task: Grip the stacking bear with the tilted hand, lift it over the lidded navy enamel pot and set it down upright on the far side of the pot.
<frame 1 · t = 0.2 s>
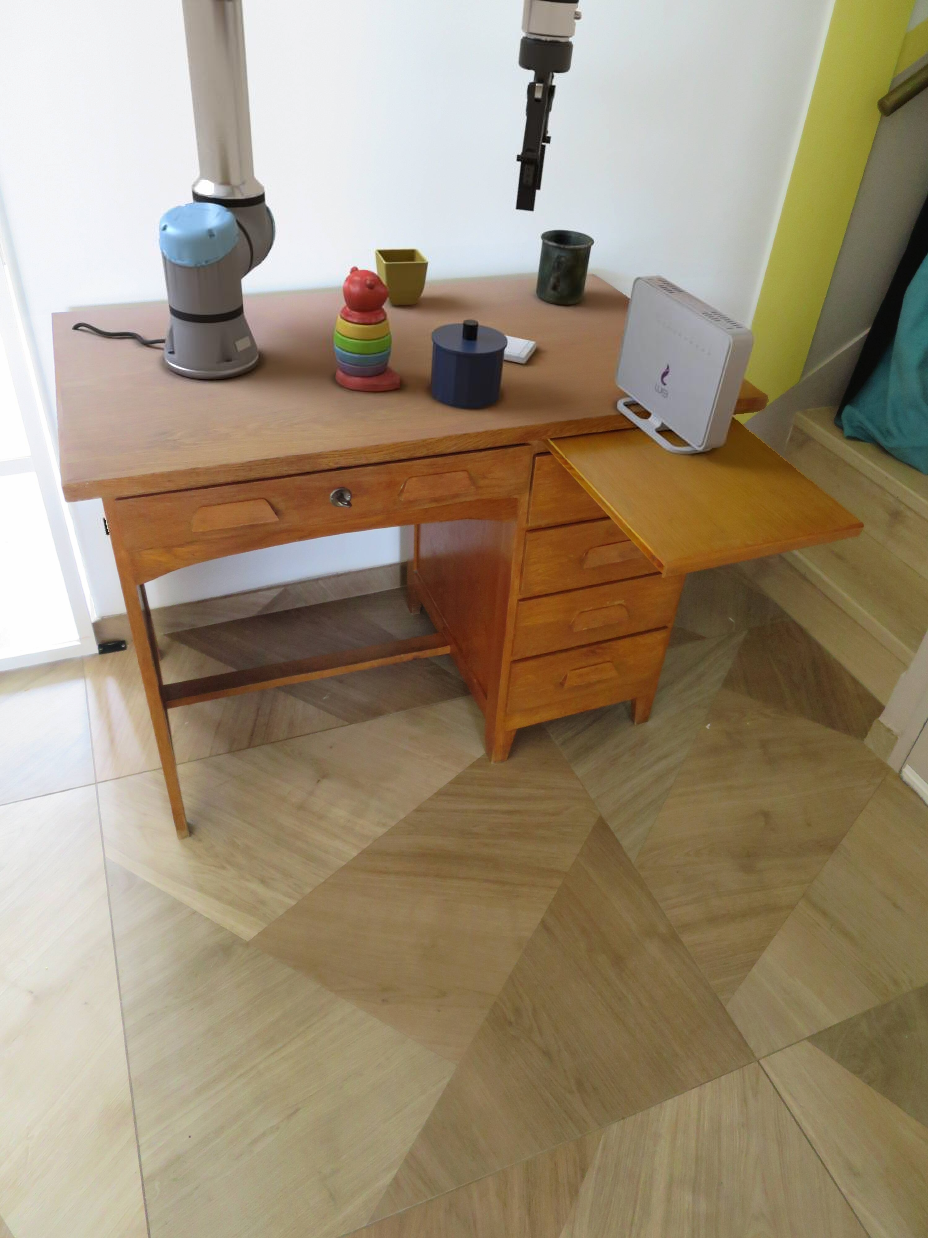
hand: (528, 198, 137), 28 cm above the table, tool pointing down, fingers open, 13 cm apart
flower pot: (399, 302, 176), on the table
pot lid: (469, 340, 140), point 9 cm above the table, touching pot
stacking bear: (364, 380, 147), on the table
mug: (557, 300, 184), on the table
hard drive: (497, 350, 161), on the table
pot: (465, 393, 146), on the table
network device: (663, 426, 142), on the table
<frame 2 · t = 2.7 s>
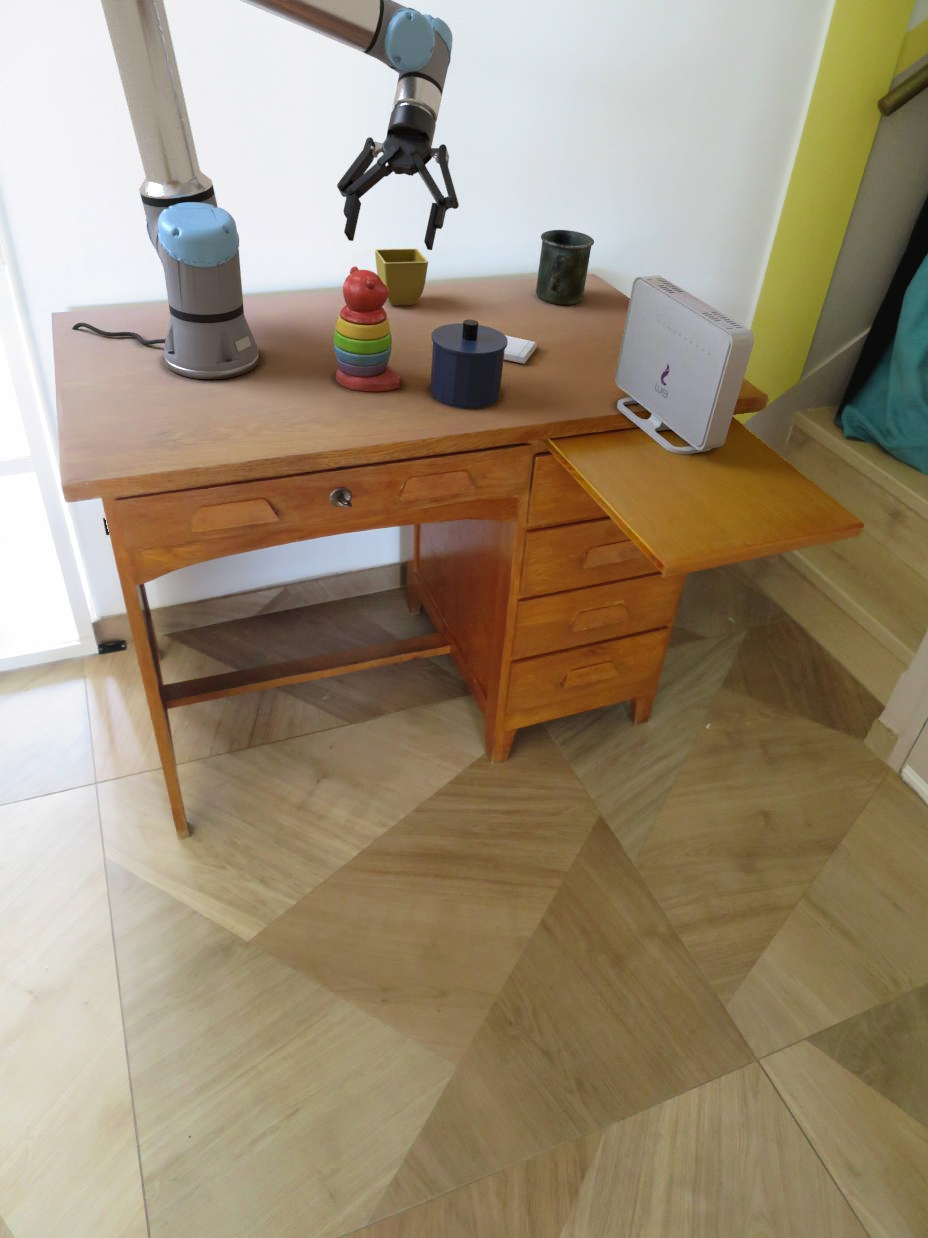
hand: (388, 241, 143), 19 cm above the table, tool tilted 40°, fingers open, 13 cm apart
nothing on the table moved.
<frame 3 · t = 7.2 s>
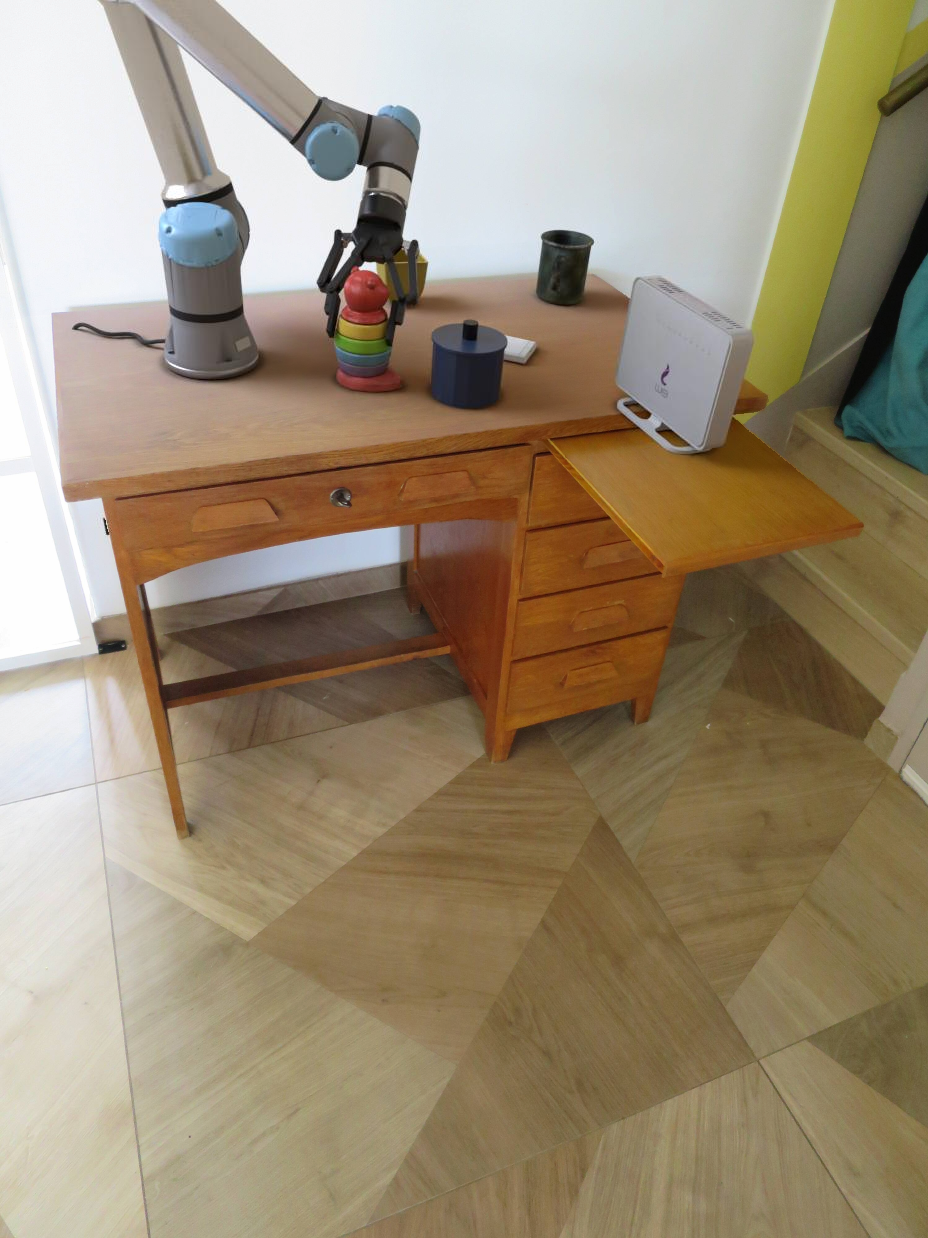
hand: (359, 338, 139), 8 cm above the table, tool tilted 45°, fingers closed on stacking bear, 9 cm apart
stacking bear: (365, 380, 147), on the table, touching gripper
everything else where it was.
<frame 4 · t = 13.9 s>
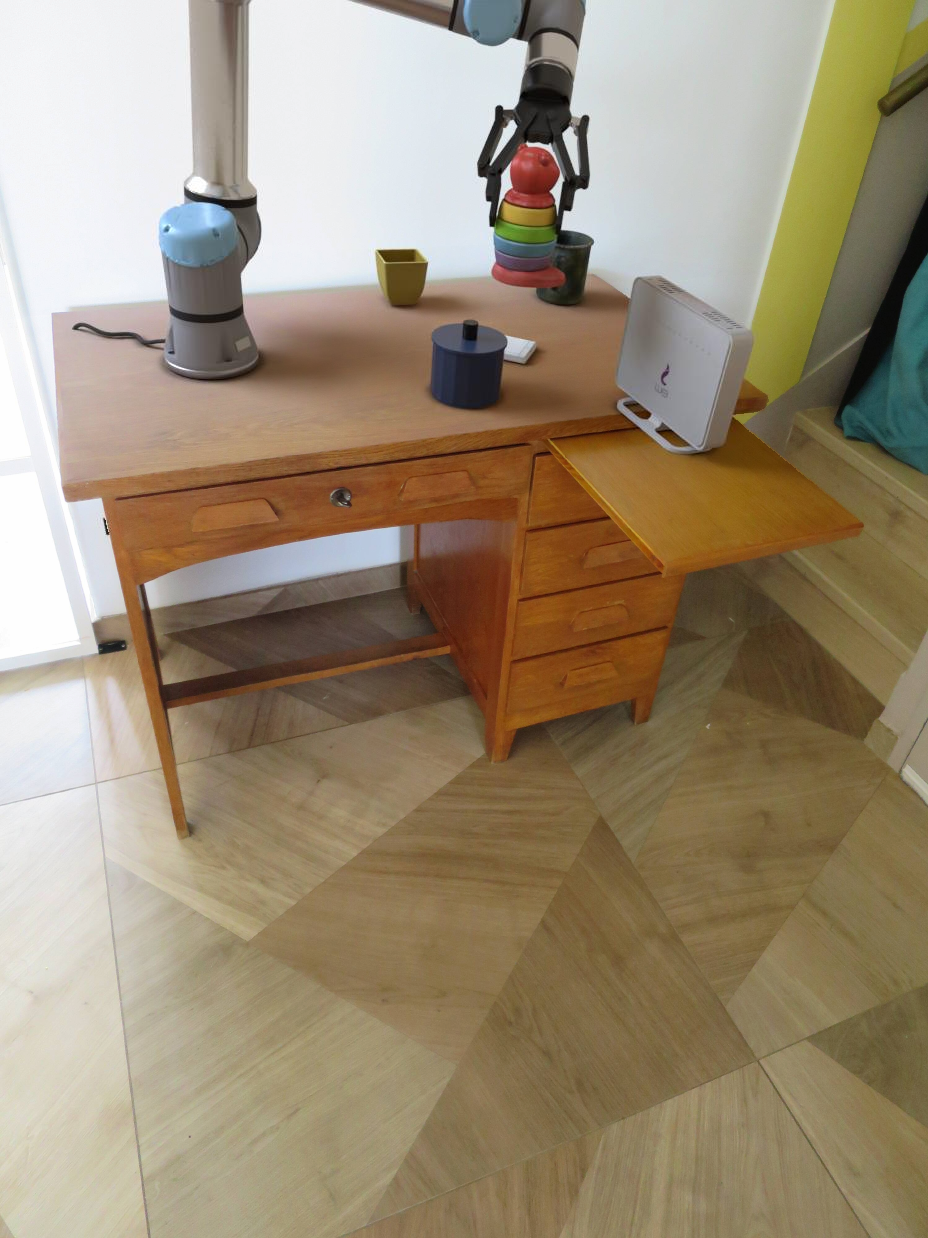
hand: (524, 225, 125), 28 cm above the table, tool tilted 45°, fingers closed on stacking bear, 9 cm apart
stacking bear: (522, 278, 133), point 20 cm above the table, touching gripper
everything else where it was.
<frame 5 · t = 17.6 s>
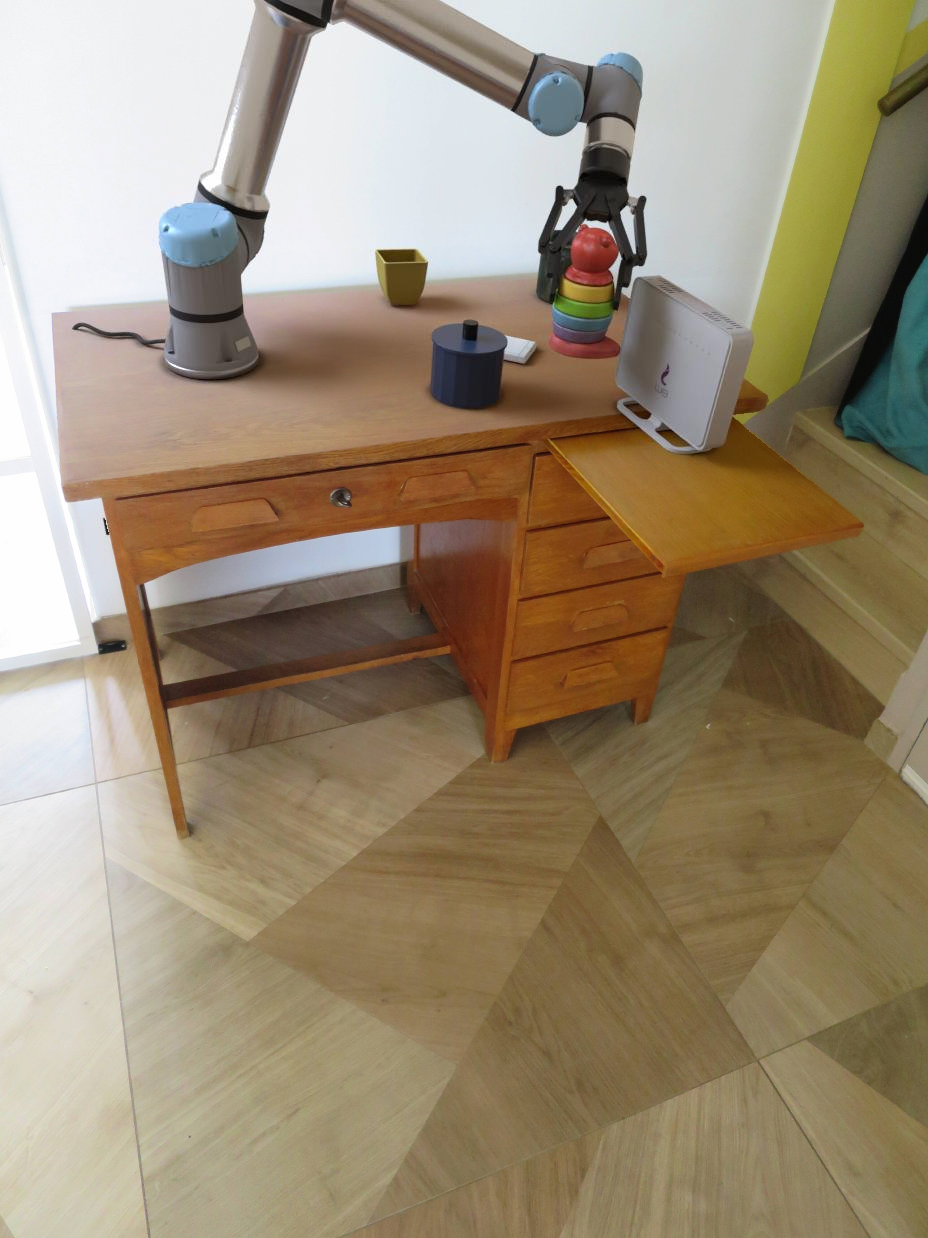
hand: (584, 301, 130), 18 cm above the table, tool tilted 45°, fingers closed on stacking bear, 9 cm apart
stacking bear: (578, 348, 138), point 10 cm above the table, touching gripper
everything else where it was.
when the fingers open (8 cm above the table, at t = 20.8 s): stacking bear stays where it is, on the table.
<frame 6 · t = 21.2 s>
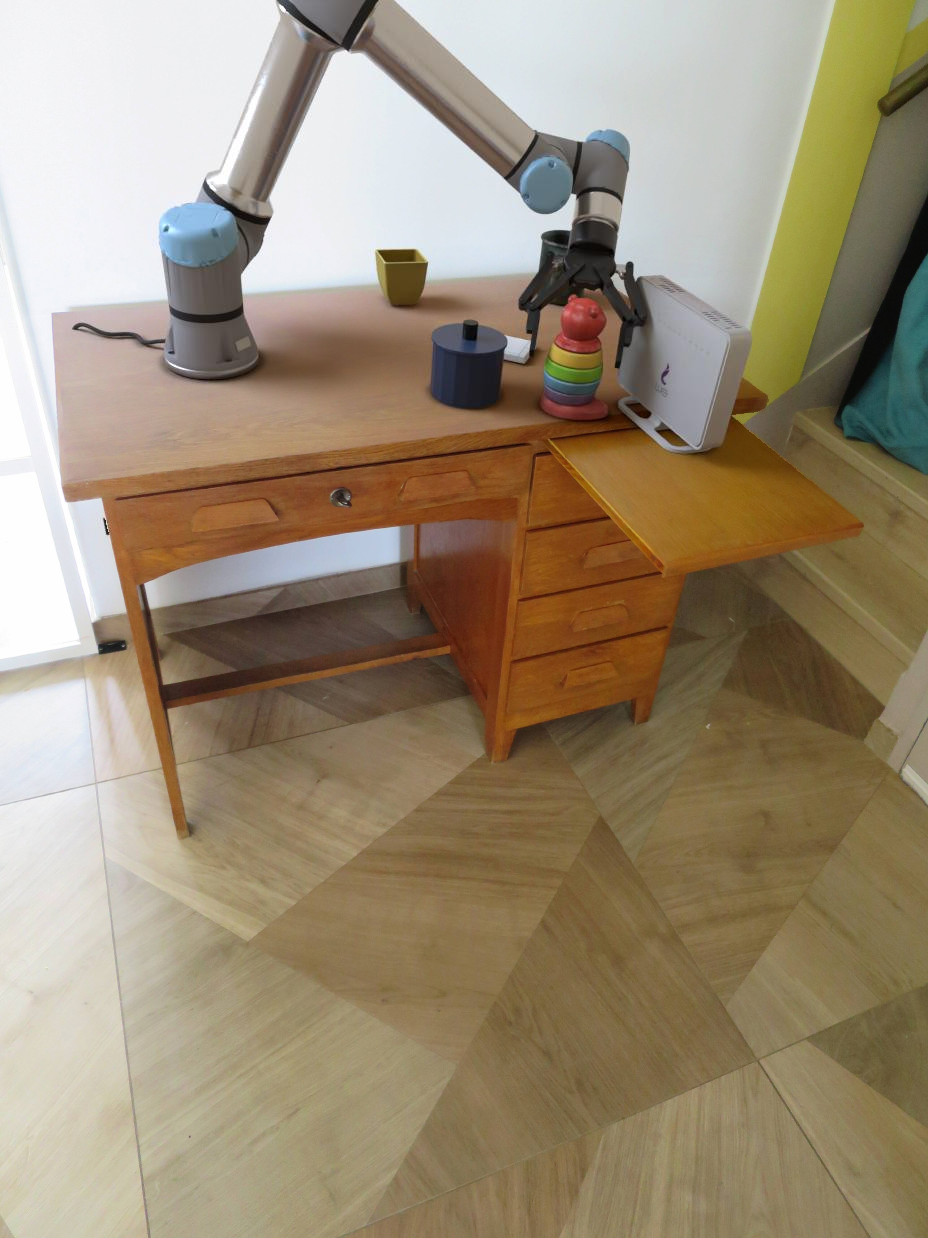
hand: (574, 359, 137), 9 cm above the table, tool tilted 45°, fingers open, 13 cm apart
stacking bear: (568, 408, 145), on the table
network device: (663, 425, 142), on the table, touching hand
everything else where it was.
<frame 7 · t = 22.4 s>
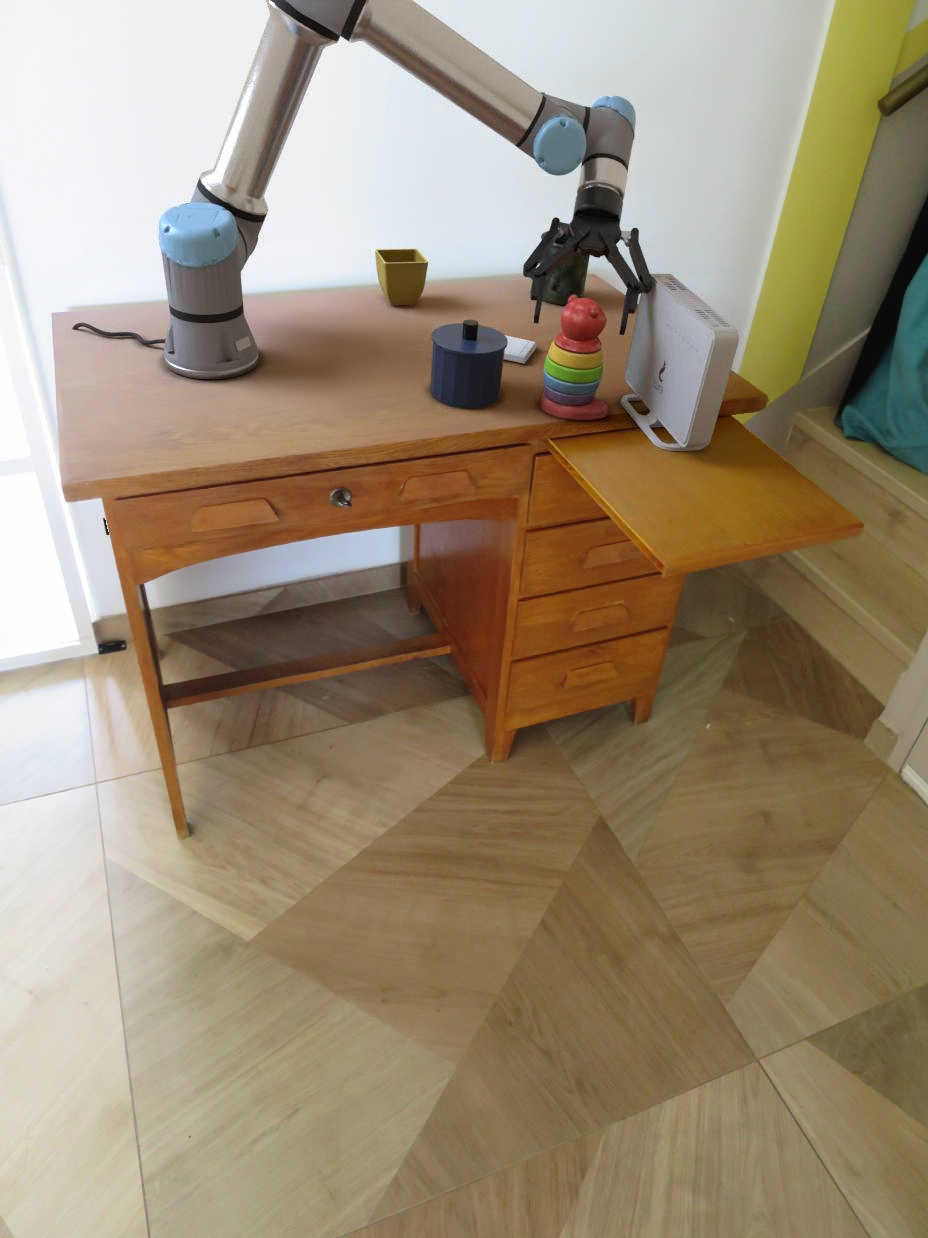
hand: (579, 325, 137), 13 cm above the table, tool tilted 45°, fingers open, 13 cm apart
network device: (661, 423, 143), on the table
everything else where it was.
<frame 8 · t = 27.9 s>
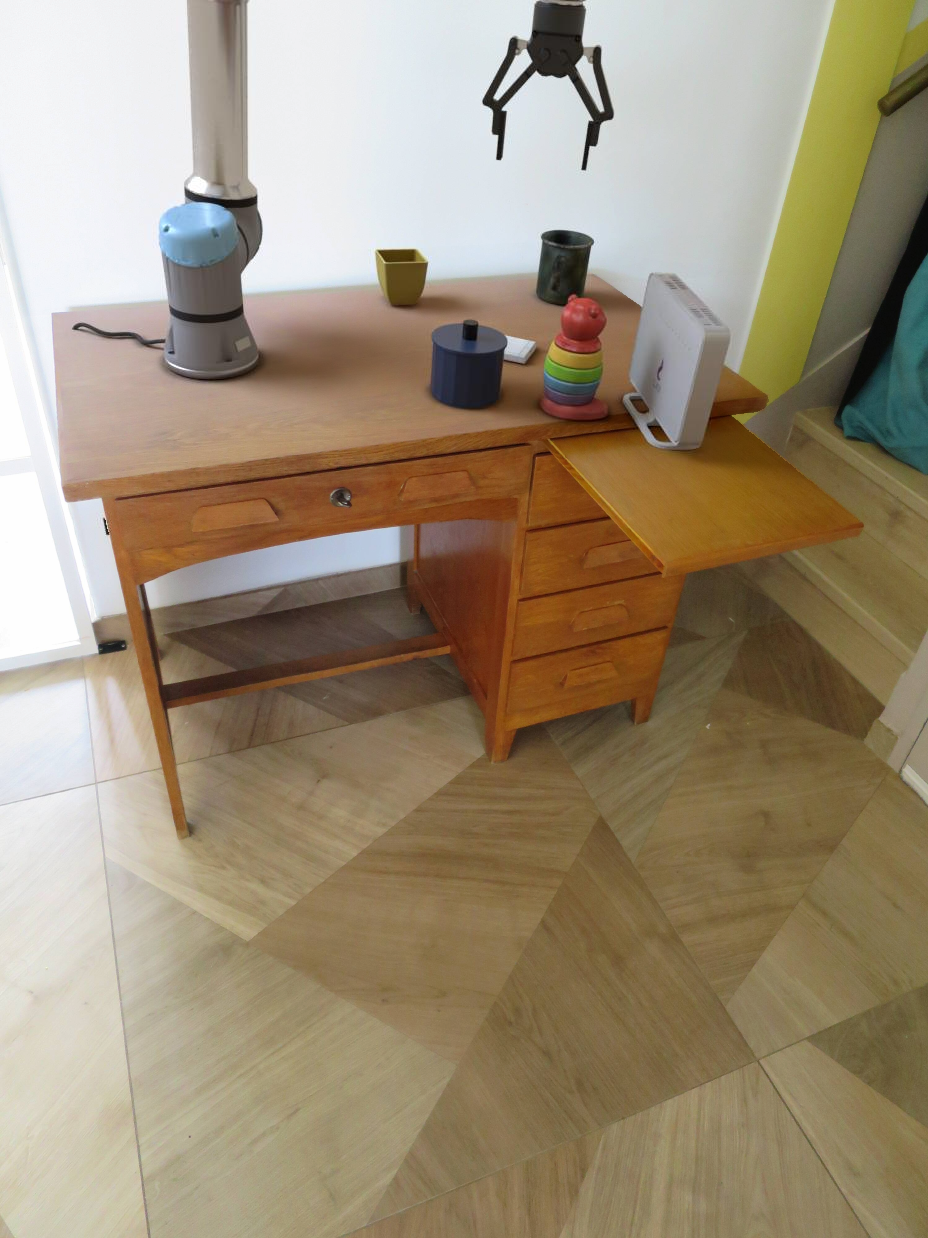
hand: (541, 163, 140), 32 cm above the table, tool pointing down, fingers open, 13 cm apart
at the end: stacking bear inside the target area on the table beside the pot (1.0 cm from its centre), on the table; stacking bear tilted 0°; the gripper is holding nothing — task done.
